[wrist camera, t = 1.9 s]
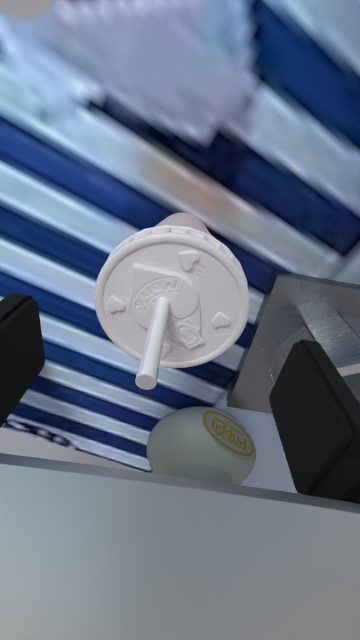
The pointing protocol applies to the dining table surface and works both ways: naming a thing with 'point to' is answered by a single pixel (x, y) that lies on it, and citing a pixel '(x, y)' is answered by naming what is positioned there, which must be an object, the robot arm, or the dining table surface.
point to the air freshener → (201, 446)
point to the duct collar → (298, 335)
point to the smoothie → (172, 297)
